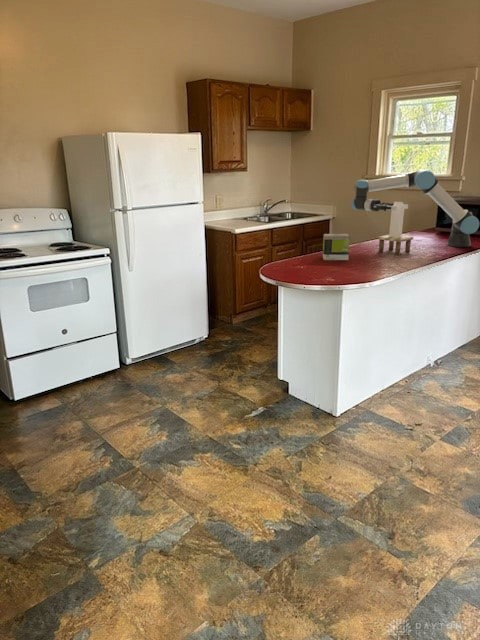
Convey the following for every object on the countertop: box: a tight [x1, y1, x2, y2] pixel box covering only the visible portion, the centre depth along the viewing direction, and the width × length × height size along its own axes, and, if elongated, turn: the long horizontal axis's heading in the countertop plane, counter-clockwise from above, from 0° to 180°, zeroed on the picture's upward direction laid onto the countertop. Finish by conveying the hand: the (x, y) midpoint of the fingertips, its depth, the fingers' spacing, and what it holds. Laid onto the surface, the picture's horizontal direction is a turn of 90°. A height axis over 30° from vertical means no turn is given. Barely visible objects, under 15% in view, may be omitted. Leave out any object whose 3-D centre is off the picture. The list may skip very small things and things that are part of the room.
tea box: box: [322, 233, 351, 261], centre depth 299 cm, size 15×10×15 cm, turn 84°
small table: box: [377, 234, 414, 256], centre depth 319 cm, size 16×16×10 cm
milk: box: [388, 201, 405, 238], centre depth 314 cm, size 6×6×22 cm
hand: (402, 207), depth 309 cm, fingers open, 13 cm apart
